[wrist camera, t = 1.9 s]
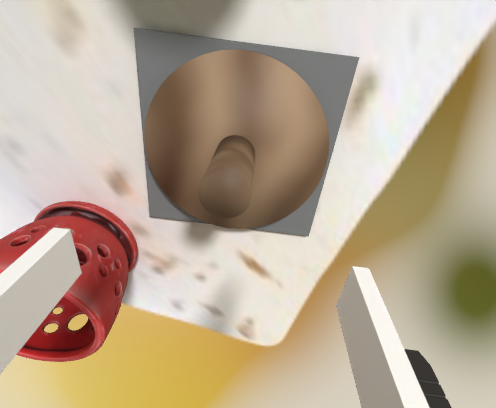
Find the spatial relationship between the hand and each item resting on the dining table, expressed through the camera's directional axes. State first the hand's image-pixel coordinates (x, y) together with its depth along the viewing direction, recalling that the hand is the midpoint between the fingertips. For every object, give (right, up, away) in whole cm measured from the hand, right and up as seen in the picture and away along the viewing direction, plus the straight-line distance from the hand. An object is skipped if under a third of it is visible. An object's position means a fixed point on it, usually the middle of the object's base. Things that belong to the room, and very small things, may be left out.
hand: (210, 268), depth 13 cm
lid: (+1, +8, +13) cm, 16 cm away
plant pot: (-17, -1, +21) cm, 27 cm away
